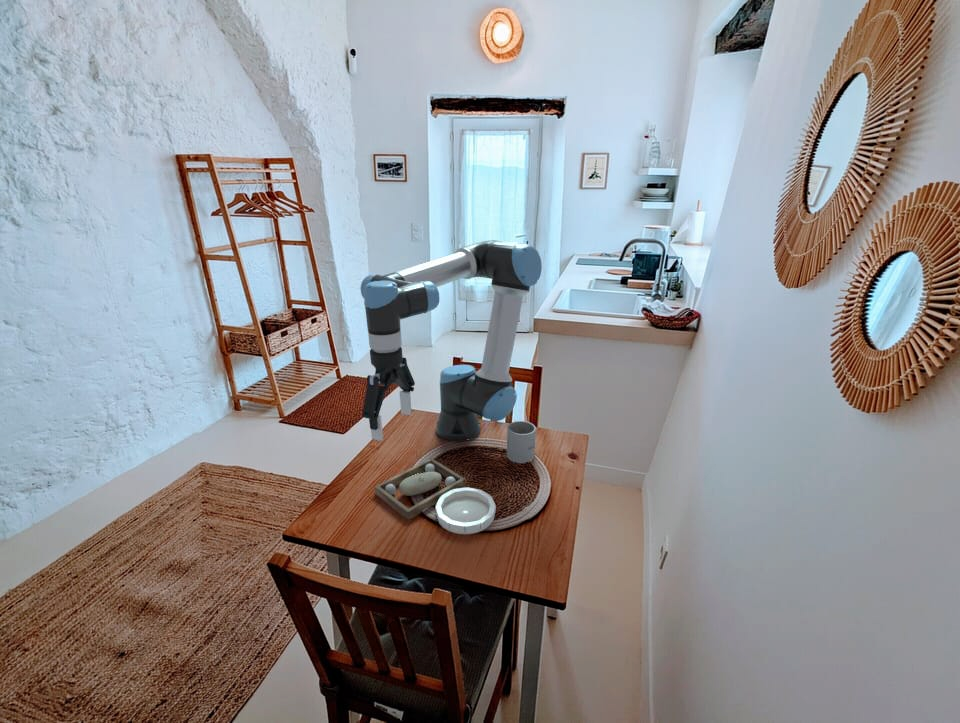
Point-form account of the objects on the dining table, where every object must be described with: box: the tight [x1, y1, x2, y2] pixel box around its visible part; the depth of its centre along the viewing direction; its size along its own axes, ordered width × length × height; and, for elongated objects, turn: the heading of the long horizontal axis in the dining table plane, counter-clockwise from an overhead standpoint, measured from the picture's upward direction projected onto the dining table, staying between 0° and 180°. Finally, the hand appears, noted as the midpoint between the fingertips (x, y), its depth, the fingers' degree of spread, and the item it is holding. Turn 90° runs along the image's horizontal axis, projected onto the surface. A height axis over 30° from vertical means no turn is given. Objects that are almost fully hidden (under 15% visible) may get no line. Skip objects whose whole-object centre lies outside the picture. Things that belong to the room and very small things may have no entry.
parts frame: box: [374, 457, 466, 521], centre depth 131 cm, size 20×15×2 cm
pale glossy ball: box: [424, 464, 436, 473], centre depth 138 cm, size 3×3×3 cm
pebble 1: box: [385, 484, 397, 496], centre depth 129 cm, size 3×3×3 cm
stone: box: [398, 471, 443, 497], centre depth 130 cm, size 6×6×12 cm
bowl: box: [435, 486, 497, 535], centre depth 121 cm, size 15×15×3 cm
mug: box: [506, 420, 537, 464], centre depth 147 cm, size 12×9×10 cm
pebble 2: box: [444, 476, 456, 487], centre depth 132 cm, size 3×3×3 cm
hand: (392, 426), depth 119 cm, fingers open, 13 cm apart
